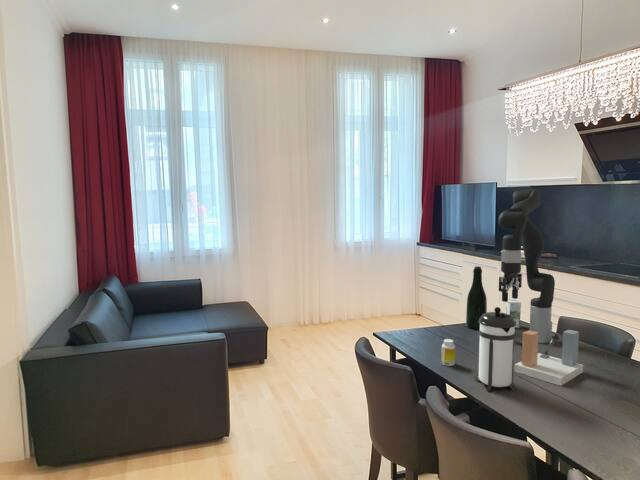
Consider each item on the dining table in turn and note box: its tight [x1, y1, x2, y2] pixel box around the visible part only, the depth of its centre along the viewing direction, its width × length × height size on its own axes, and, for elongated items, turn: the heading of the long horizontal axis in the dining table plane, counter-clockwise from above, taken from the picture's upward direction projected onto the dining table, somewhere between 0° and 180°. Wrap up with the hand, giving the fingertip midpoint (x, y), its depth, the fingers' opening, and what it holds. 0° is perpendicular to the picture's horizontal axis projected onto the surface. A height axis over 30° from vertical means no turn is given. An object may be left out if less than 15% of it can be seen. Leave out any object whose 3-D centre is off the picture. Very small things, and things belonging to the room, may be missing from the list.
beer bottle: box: [465, 265, 488, 331], centre depth 241 cm, size 10×10×33 cm
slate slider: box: [561, 329, 580, 366], centre depth 181 cm, size 4×5×13 cm
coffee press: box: [474, 306, 517, 392], centre depth 170 cm, size 17×16×30 cm
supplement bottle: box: [440, 338, 456, 367], centre depth 191 cm, size 6×6×10 cm
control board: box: [514, 352, 584, 387], centre depth 182 cm, size 18×20×4 cm
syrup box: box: [505, 299, 522, 329], centre depth 242 cm, size 6×6×14 cm
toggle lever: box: [543, 333, 560, 355], centre depth 187 cm, size 3×3×10 cm
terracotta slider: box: [521, 329, 539, 367], centre depth 181 cm, size 4×5×13 cm
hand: (509, 299), depth 186 cm, fingers open, 7 cm apart
